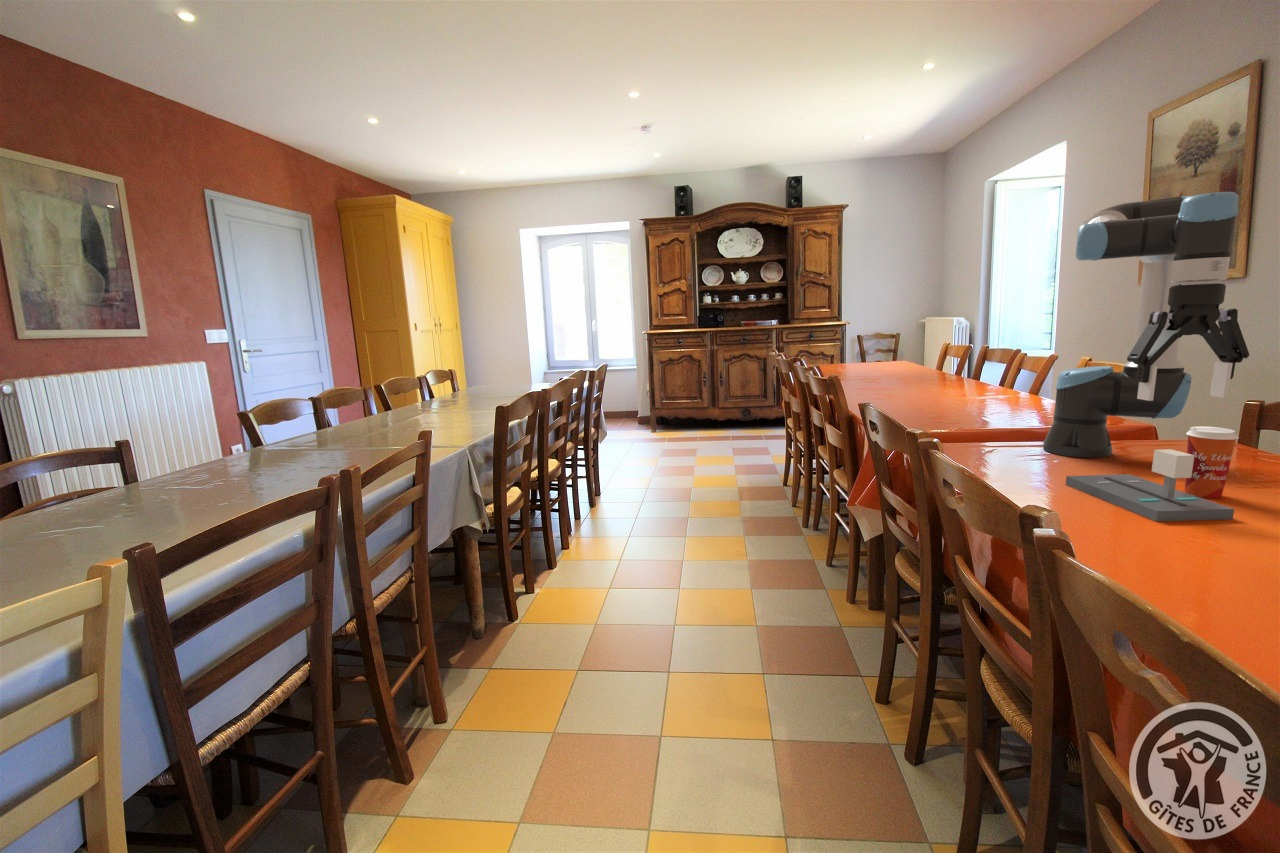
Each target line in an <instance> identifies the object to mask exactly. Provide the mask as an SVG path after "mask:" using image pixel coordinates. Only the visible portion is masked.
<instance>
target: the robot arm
mask: <svg viewBox="0 0 1280 853" xmlns="http://www.w3.org/2000/svg"><path fill="white" fill-rule="evenodd" d="M1239 197H1240V196H1239V195H1238V194H1237V193H1236V192H1234V191H1219V192H1210V193H1209V192H1208V193H1202V194H1197V195H1196V194H1195V195H1187V196H1186V195H1180V196H1174V197H1167V198H1157V199H1153V200H1152V199H1151V200H1144V201H1142V200H1141V201H1135V202H1134V201H1133V202H1125V203H1119V204H1116V205H1113V206H1110V207H1106V208H1104V209H1102V210H1099V211H1097V212H1095V213H1093V214H1092V215H1090V216H1089V217H1087V219H1085V221H1084V222H1083V224H1081V225H1080V226H1079V227H1078V231H1077V238H1076V247H1075V258H1076V259H1077V260H1078V261H1100V260H1109V259H1111V260H1113V259H1122V258H1123V259H1124V258H1135V257H1136V259H1137V260H1139V261H1140V262H1141V263H1142V264H1143V266H1142V273H1141V274H1142V275H1141V282H1140V292H1139V300H1138V308H1137V318H1136V324H1135V325H1136V327H1135V333H1134V341H1133V347H1132V349H1131V351H1130V352H1129V354H1128V356H1127V357H1126V360H1127V362H1126V363H1124V365H1123V370H1122V371H1120V372H1119V371H1114V368H1113V367H1112V366H1108V365H1106V366H1105V365H1104V366H1103V365H1102V366H1086V367H1085V366H1084V367H1076V368H1070V369H1065V370H1063V371H1061V372H1060V373H1059V374H1058V376H1057V377H1058V378H1057V382H1056V386H1055V389H1056V391H1055V392H1056V395H1055V402H1054V412H1053V421H1052V424H1051V427H1049V429H1048V432H1047V434H1046V437H1045V438H1044V440H1043V443H1042V444H1043V446H1042V450H1044V451H1045V452H1048V453H1051V454H1055V455H1059V456H1060V455H1061V456H1066V457H1074V458H1075V457H1076V458H1086V459H1087V458H1090V459H1091V458H1092V459H1094V458H1096V459H1097V458H1099V459H1100V458H1105V457H1110V456H1112V454H1113V453H1112V452H1113V445H1112V442H1111V438H1110V434H1109V431H1108V426H1107V421H1108V417H1124V418H1126V417H1127V418H1129V417H1130V418H1147V419H1149V418H1150V419H1152V420H1155V419H1174V418H1176V417H1178V416H1179V415H1180V414H1181V413H1182V411H1183V409H1184V407H1185V406H1186V403H1187V401H1188V398H1189V394H1190V391H1191V386H1192V385H1191V384H1192V379H1193V378H1192V374H1190V373H1188V372H1185V365H1184V364H1182V362H1181V361H1179V359H1178V357H1179V356H1178V355H1179V347H1180V341H1181V340H1180V339H1181V338H1182V337H1183V336H1192V335H1196V336H1197V335H1199V336H1201V337H1202V338H1203V339H1204V340H1205V342H1206V344H1208V346H1209V347H1210V349H1211V350H1212V352H1213V353H1214V354H1215V355H1216V356H1217V357H1216V358H1218V360H1219V361H1214V364H1213V370H1212V376H1211V383H1210V384H1211V385H1210V390H1209V397H1215V398H1222V399H1224V398H1225V399H1226V398H1228V396H1229V389H1230V383H1231V380H1232V379H1233V378H1234V373H1235V369H1236V363H1238V364H1239V363H1242V362H1243V361H1244V359H1248V358H1249V356H1250V352H1249V349H1248V346H1247V344H1246V340H1245V338H1244V335H1243V333H1242V330H1241V327H1240V324H1239V322H1238V318H1239V317H1238V316H1239V314H1238V312H1239V310H1238V309H1237V308H1220V305H1221V304H1223V303H1224V301H1225V295H1226V290H1227V289H1226V288H1227V285H1226V284H1225V283H1222V282H1223V281H1225V280H1227V279H1228V275H1229V268H1230V260H1231V255H1232V254H1231V251H1232V245H1233V240H1234V239H1233V238H1234V234H1235V227H1236V221H1237V217H1238V214H1239V212H1240V210H1239V208H1238V207H1239ZM1217 322H1218V324H1217Z"/></svg>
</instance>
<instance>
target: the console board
mask: <svg viewBox="0 0 1280 853" xmlns="http://www.w3.org/2000/svg"><path fill="white" fill-rule="evenodd" d="M1065 485H1066V486H1068V487H1071V488H1072V489H1076V490H1077V491H1081V492H1083V493H1086V494H1087V495H1090V496H1092V497H1094V498H1095V497H1096V498H1098V499H1100V500H1102V501H1105V502H1107V503H1110V504H1112V505H1115V506H1117V507H1120V508H1121V509H1125V510H1128V511H1130V512H1132V513H1135V514H1137V515H1139V516H1141V517H1145V518H1147V519H1149V520H1152V521H1154V522H1180V521H1181V522H1183V521H1185V522H1187V521H1213V520H1214V521H1215V520H1216V521H1217V520H1220V521H1221V520H1233V519H1234V515H1235V514H1234V513H1235V508H1233V507H1229V506H1226V505H1223V504H1221V503H1218V502H1214V501H1212V500H1208V499H1207V498H1202V497H1197V496H1194V495H1191V494H1188V493H1185V491H1181V490H1178V489H1176V488H1175V492H1174V498H1170V499H1167V498H1164V497H1162V493H1163V485H1164V484H1159V483H1157V482H1155V481H1151V480H1149V479H1147V478H1146V479H1145V478H1142V477H1139V476H1136V475H1133V474H1130V473H1126V474H1124V473H1123V474H1122V473H1121V474H1117V473H1116V474H1095V475H1094V474H1093V475H1091V474H1090V475H1066V478H1065Z"/></svg>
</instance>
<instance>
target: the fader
mask: <svg viewBox="0 0 1280 853" xmlns="http://www.w3.org/2000/svg"><path fill="white" fill-rule="evenodd" d="M1153 452H1154V453H1153V458H1152V466H1151V472H1152V473H1157V474H1159V475H1163V476H1164V477H1163V478H1164V480H1163V484H1162V485H1163V493H1162V497H1164V498H1167V499H1170V498H1174V492H1175V489H1176V483H1177V479H1185V478H1191V476H1192V469H1193V462H1194V455H1191V454H1187V452H1183V451H1178V450H1175V449H1172V448H1168V449H1166V448H1165V449H1154V450H1153Z"/></svg>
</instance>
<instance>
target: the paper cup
mask: <svg viewBox="0 0 1280 853" xmlns="http://www.w3.org/2000/svg"><path fill="white" fill-rule="evenodd" d="M1185 435H1187V445H1186V446H1187V448H1186V453H1187V454H1191V455H1194V462H1193V469H1192V476H1191V478H1184V479H1185V480H1184V481H1185V482H1184V492H1185V493H1188V494H1191V495H1194V496H1197V497H1200V498H1203V499H1221V498H1222V496H1223V493H1224V489H1225V485H1226V482H1227V477H1228V473H1229V470H1230V465H1231V461H1232V457H1233V452H1234V449H1235V446H1236V440H1238V439H1239V438H1240V437H1239V436H1238V432H1236V430H1234V429H1230V428H1227V427H1226V428H1225V427H1218V426H1216V427H1215V426H1191V427H1189V430H1188V431H1187V432H1186V433H1185Z"/></svg>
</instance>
